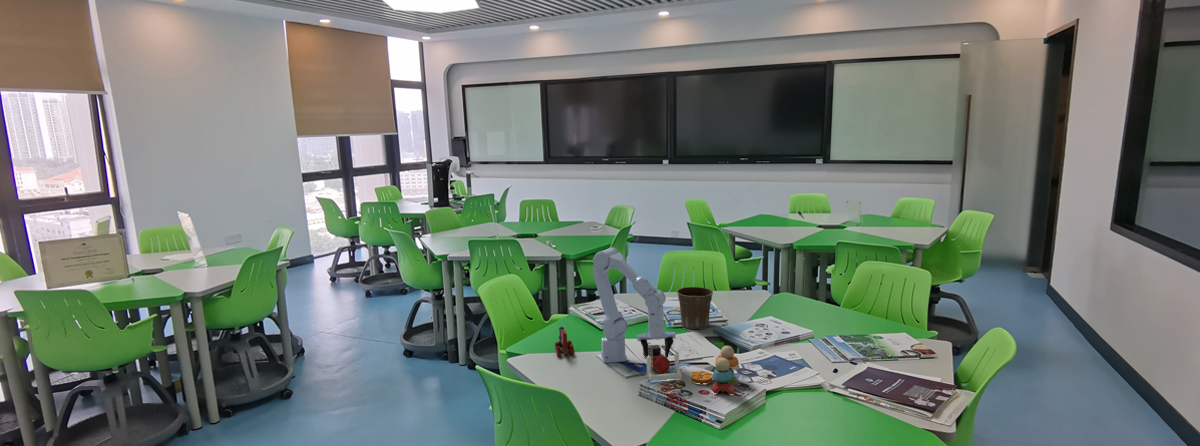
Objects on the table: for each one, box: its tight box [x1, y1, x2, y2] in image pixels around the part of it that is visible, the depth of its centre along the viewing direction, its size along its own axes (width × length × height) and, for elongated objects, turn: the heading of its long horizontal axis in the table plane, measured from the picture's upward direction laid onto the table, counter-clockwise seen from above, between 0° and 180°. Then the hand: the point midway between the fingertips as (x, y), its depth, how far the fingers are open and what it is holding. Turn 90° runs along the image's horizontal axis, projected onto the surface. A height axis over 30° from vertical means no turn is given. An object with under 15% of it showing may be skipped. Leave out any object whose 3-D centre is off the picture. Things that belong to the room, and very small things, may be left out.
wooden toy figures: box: [689, 345, 739, 395], centre depth 205 cm, size 18×17×12 cm
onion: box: [654, 353, 671, 374], centre depth 216 cm, size 6×6×8 cm
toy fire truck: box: [554, 326, 575, 357], centre depth 241 cm, size 7×12×10 cm, turn 11°
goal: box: [645, 353, 682, 382], centre depth 213 cm, size 12×5×8 cm, turn 97°
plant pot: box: [676, 286, 714, 330], centre depth 268 cm, size 16×16×16 cm
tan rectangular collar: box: [642, 344, 655, 357], centre depth 235 cm, size 6×2×4 cm, turn 97°
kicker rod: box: [648, 344, 662, 370], centre depth 230 cm, size 5×19×7 cm, turn 7°
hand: (656, 357), depth 224 cm, fingers open, 7 cm apart
